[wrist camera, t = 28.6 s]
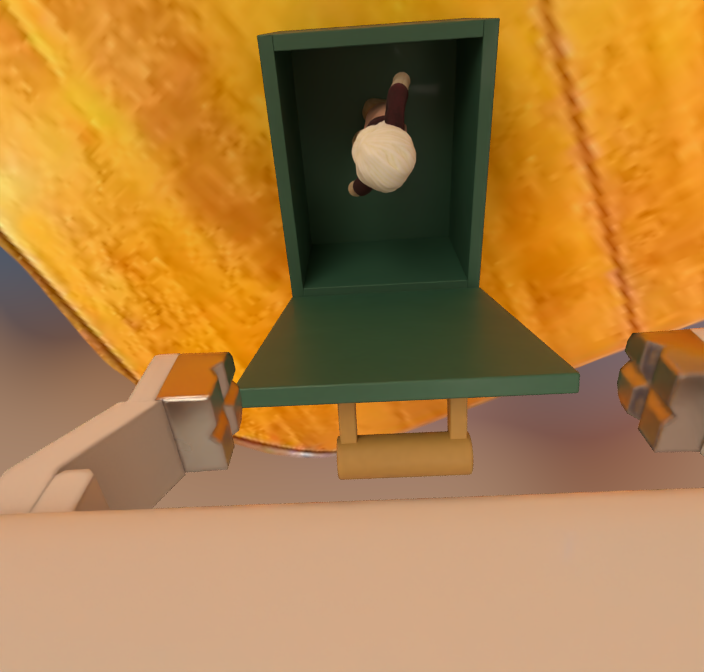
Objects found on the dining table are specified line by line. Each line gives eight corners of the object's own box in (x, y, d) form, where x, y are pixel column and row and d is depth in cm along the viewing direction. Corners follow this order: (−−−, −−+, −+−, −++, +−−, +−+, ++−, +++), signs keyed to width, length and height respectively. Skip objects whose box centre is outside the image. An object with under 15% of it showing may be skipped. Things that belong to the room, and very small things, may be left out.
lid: (231, 388, 19) (247, 507, 20) (581, 372, 18) (572, 495, 20) (291, 297, 35) (298, 367, 36) (480, 287, 34) (479, 358, 35)
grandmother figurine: (392, 181, 39) (407, 244, 28) (342, 171, 38) (337, 232, 28) (418, 69, 35) (447, 92, 24) (363, 57, 34) (367, 74, 24)
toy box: (278, 31, 34) (256, 35, 27) (467, 18, 34) (499, 18, 26) (303, 250, 43) (292, 299, 35) (456, 241, 42) (478, 290, 35)
